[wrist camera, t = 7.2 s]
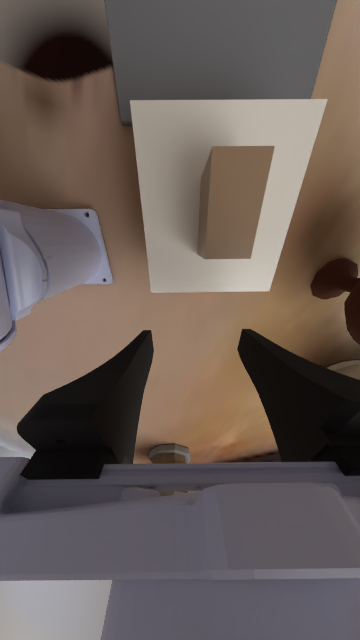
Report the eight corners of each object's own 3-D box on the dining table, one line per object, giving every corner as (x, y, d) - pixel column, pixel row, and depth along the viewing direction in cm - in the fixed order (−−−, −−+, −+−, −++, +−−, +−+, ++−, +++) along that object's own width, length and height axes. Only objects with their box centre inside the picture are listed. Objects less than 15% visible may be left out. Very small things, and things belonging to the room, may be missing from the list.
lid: (152, 290, 15) (142, 309, 11) (132, 108, 9) (96, 3, 5) (265, 289, 15) (298, 307, 11) (318, 107, 9) (429, 2, 5)
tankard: (146, 445, 44) (133, 532, 31) (187, 442, 43) (191, 529, 30) (160, 468, 54) (154, 542, 41) (193, 466, 53) (198, 540, 40)
